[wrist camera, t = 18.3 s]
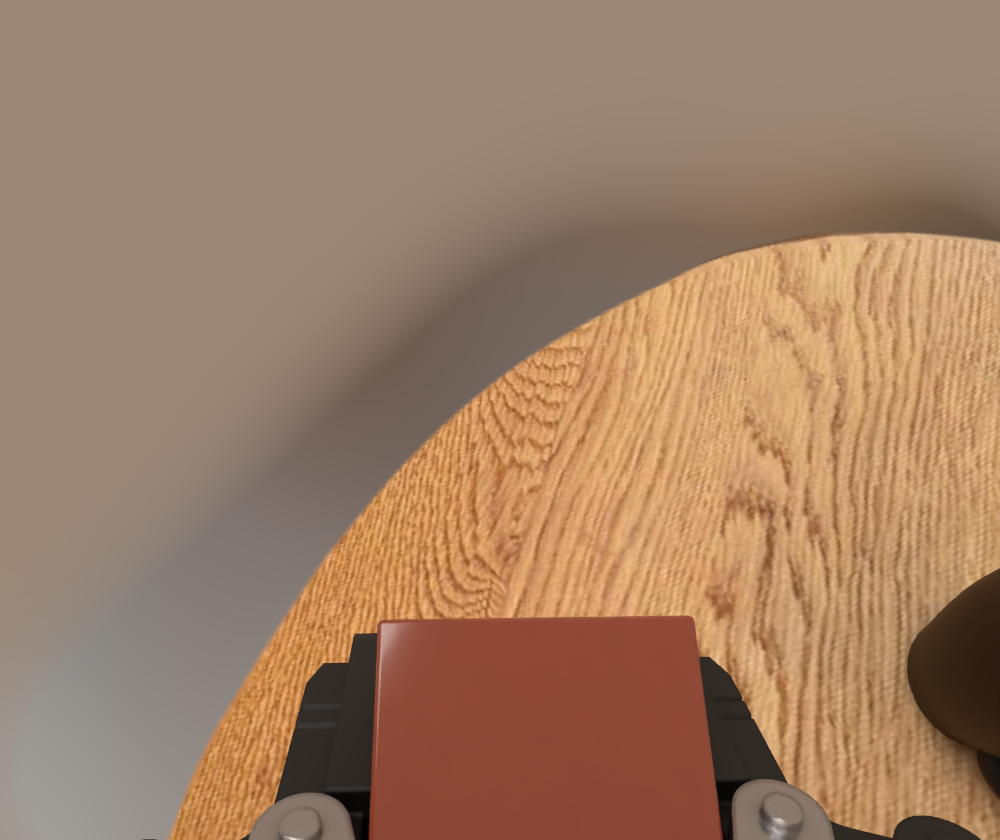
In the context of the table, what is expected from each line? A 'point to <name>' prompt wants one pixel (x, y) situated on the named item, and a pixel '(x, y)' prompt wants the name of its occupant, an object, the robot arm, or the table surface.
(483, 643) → the block
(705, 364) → the table surface
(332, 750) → the robot arm
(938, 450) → the table surface
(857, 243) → the table surface
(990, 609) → the mug
